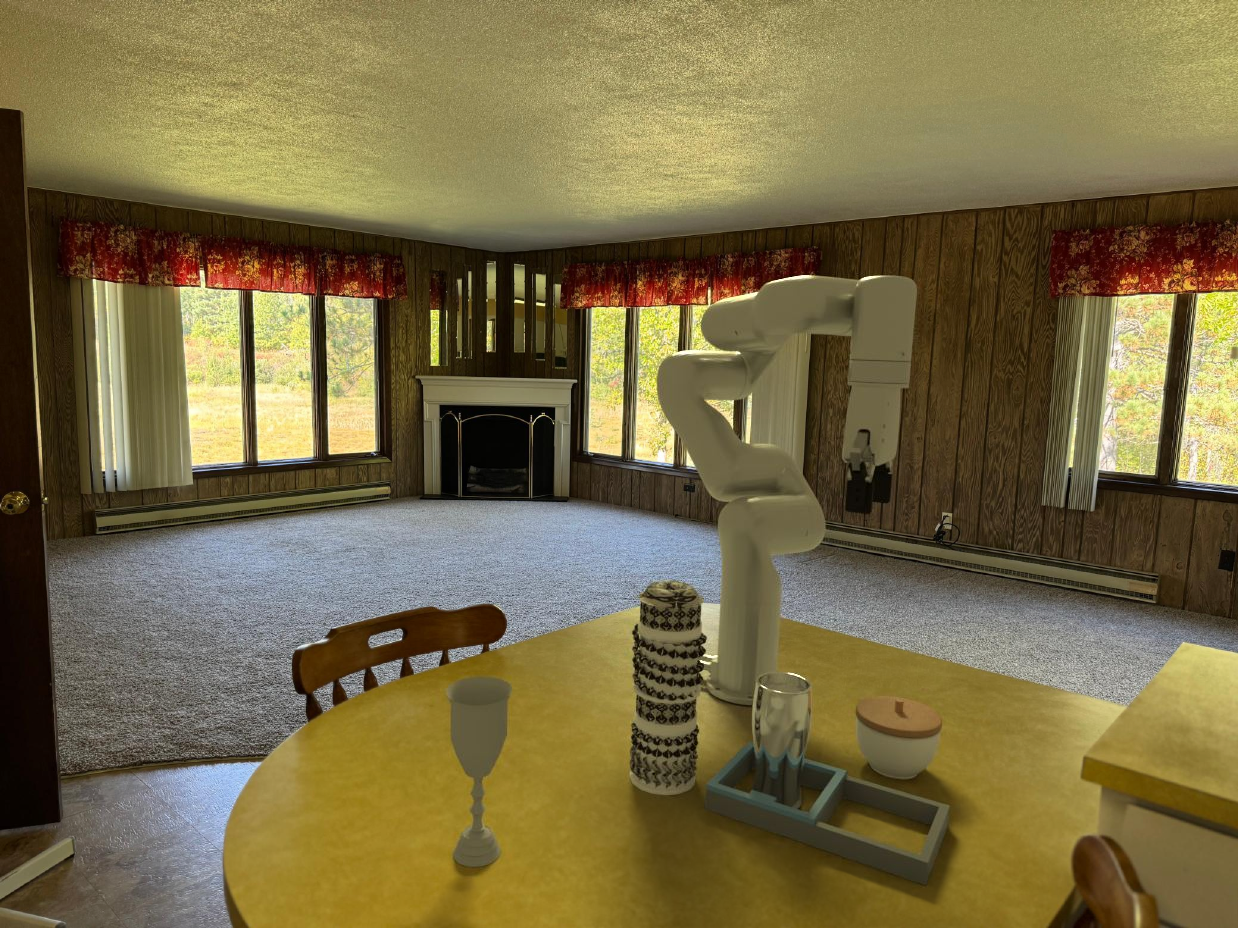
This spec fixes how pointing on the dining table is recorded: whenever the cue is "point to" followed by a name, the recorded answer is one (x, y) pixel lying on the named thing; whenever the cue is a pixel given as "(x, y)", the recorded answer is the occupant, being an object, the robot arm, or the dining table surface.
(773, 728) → the beer glass
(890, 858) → the slot frame
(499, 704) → the chalice
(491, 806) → the dining table surface
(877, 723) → the lidded jar
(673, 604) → the decorative candle
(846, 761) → the dining table surface
